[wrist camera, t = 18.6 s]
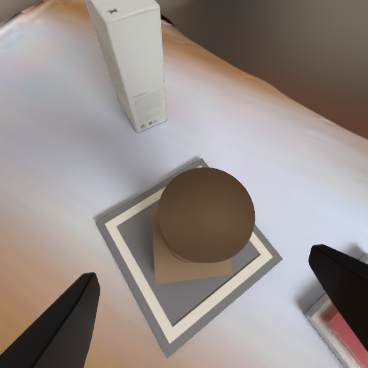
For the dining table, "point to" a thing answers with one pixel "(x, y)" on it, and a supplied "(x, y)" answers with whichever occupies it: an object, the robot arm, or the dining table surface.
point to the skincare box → (133, 56)
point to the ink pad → (338, 331)
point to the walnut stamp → (200, 225)
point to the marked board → (182, 290)
